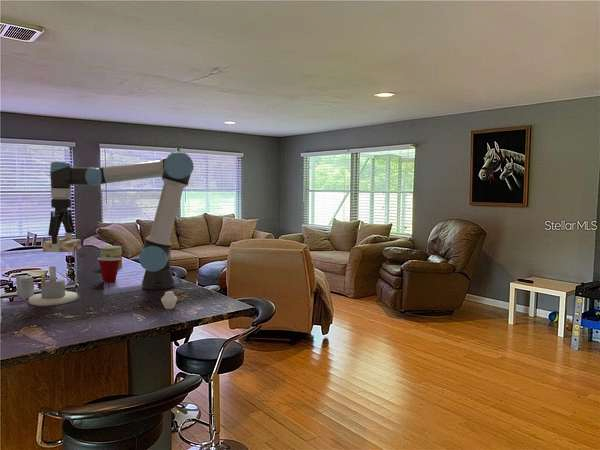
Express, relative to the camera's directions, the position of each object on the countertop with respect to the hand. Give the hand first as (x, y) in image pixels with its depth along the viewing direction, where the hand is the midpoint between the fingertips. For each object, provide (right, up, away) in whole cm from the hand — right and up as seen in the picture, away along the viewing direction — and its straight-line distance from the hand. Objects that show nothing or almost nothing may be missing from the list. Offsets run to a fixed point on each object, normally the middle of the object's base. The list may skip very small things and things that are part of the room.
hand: (62, 249), depth 192 cm
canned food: (-7, -14, +66) cm, 68 cm away
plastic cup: (+7, -18, +31) cm, 36 cm away
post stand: (-1, -21, -5) cm, 21 cm away
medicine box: (-15, -21, -1) cm, 26 cm away
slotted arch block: (0, 0, 0) cm, 0 cm away
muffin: (+50, -23, -14) cm, 57 cm away
